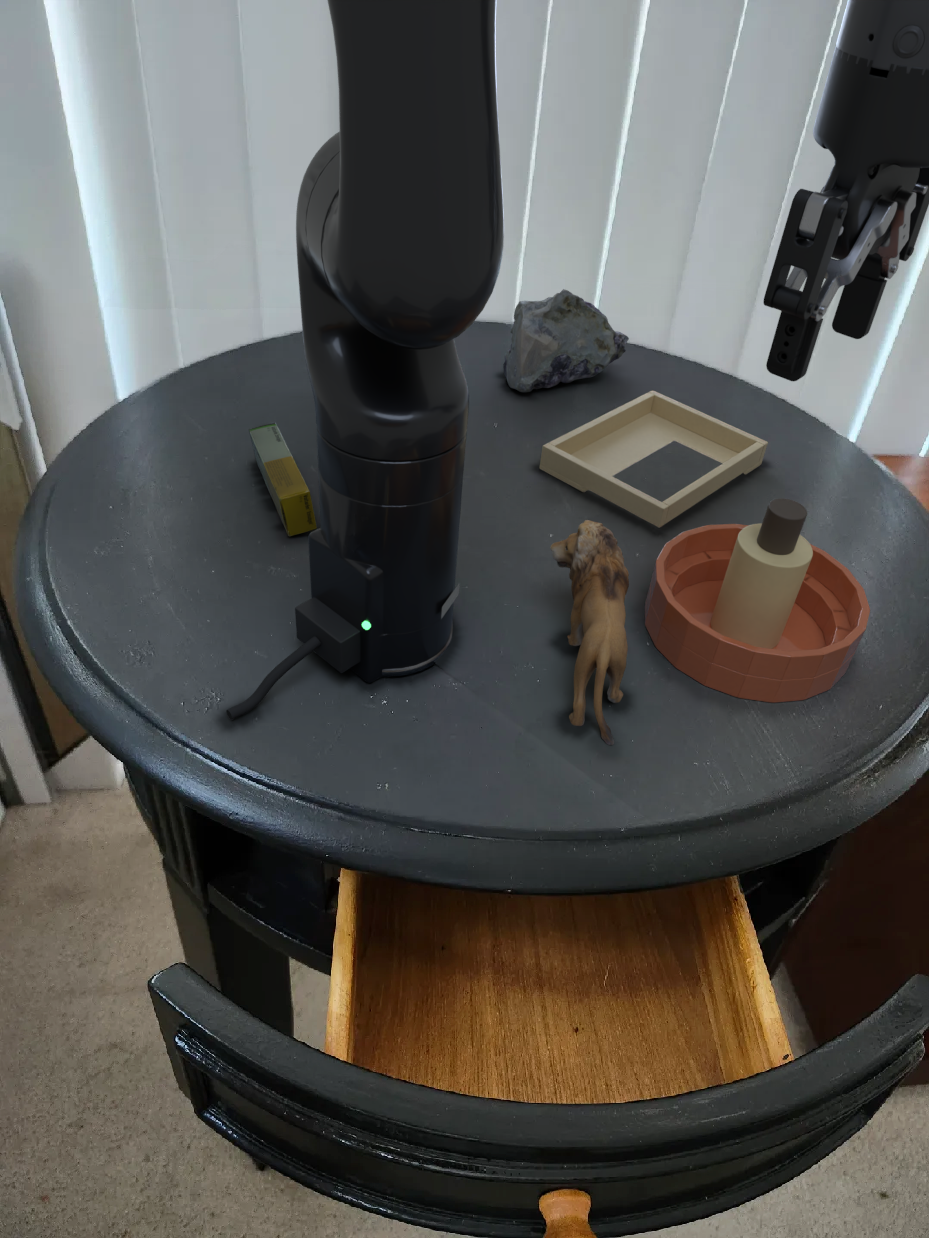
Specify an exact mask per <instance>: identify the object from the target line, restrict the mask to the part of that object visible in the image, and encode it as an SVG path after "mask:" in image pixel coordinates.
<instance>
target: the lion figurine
mask: <svg viewBox="0 0 929 1238" xmlns="http://www.w3.org/2000/svg"><path fill="white" fill-rule="evenodd" d="M549 548H550V551H551V554H552V558H553V560H555V561H556V565H557V566H558V568H568V569H569V573H568V578H569V579H570V580H571V587H570V588H571V596H572V600H573V604H572V608H571V613H570V634H568V635H567V639H568V644H569V645H570V646H573V647H578V646H579V649H578V652H577V657H576V660H575V663H574V671H573V672H574V673H573V703H572V708H573V711H572V712H571V713H570V714H569V715H568V719H569V721H570V723H571V725H573V726H576V727H582V726H584V724H585V713H586V709H587V708H586V707H587V701H586V689H587V686H588V683H589V681H590V679H591V677H592V675H593V673H594V672H595V677H594V687H593V688H594V689H593V711H594V716H595V719H596V722H597V725H598V728H599V730H600V737H601V739H602V740H603V741H604V743H605V744H606V745H608V746H613V745H614V744H615V738H614V736H613V733H612V730H611V728H610V726H609V725H608V724H607V722H606V719H605V717H604V713H603V691H604V684H605V680H606V676H607V677H608V682H609V686H608V689H607V692H606V694H607V700H608V701H609V702H611V703H613V704H617V703H620V702H621V700H622V698H623V697H624V693H623V692H622V690H621V689H620V686H621V683H622V679H623V678H624V674H625V671H626V667H627V657H628V649H629V647H628V646H629V645H628V640H627V639H628V638H627V631H626V628H625V625H626V617H627V616H626V615H627V613H626V607H625V600H626V595H627V593H628V591H629V587H630V580H629V575H630V573H629V570H628V568H627V567H626V566H625V559H624V556H623V551H622V548H621V547H620V546H619V545H618V539H617V538H616V537H615V536H614V533H613V532H612V530H611V529H609V528H607V527H606V526H604V524H603V523H602V522H598V521H593V520H588V519H585V520H584V521H583V522H582V523H580V524H579V525H578V527H577V532H573V533H570V534H569V535H568V537H567V538H565V539H563V540H560V541H555V542H553V543H552V544H551V545H550V547H549ZM606 674H607V675H606Z"/></svg>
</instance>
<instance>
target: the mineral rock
mask: <svg viewBox="0 0 929 1238" xmlns="http://www.w3.org/2000/svg"><path fill="white" fill-rule="evenodd" d="M510 334H512V335H511V343H510V346H509V349H508V350H506V352H505V355H504V362H503V368H502V369H503V375H504V377H505V378H506V381H507V384H508V386H509V387H510V388H511V389H514V390H517V391H518V392H520V393H530V392H532V391H533V390H538V389H539V390H540V389H542V388H545V389H549V388H553V387H555V386H557V385H559V384H560V383H563V384H569V383H572V382H573V381H576V380H581V379H588V378H589V379H590V378H592V377H595V376H596V375H599V374H600V373H602V372H603V370H605V368H607V367H608V366H609V365H610V364H612V363H613V362H615V361H616V360H619V359H620V358H621V357H622V356H623V354H624V353H626V351H627V350H626V347H625V346H626V345H627V344H628V342H629V339H630V338H629V336H628V335H627V334H625V333H623V332H621V331H618V330H617V331H616V330H614V329H613V328H612V325H611V324H610V323H609V319H608V317H607V316H606V315H605V314H604V313H602V311H600V309H599V308H598V307H596V305H594V304H593V303H591V302H589V301H586V300H585V299H584V298H583V297H580V296H578V295H576V294H574V293H572V292H571V291H569V290H568V289H566V288H565V289H564V288H563V289H562V290H561V291H559V292H556V293H555V294H554V295H553V296H548V297H546V298H545V299H542V300H520V301H518V303H517V304H516V306H515V308H514V312H513V324H512V326H511V328H510Z"/></svg>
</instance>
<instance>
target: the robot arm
mask: <svg viewBox="0 0 929 1238" xmlns="http://www.w3.org/2000/svg"><path fill="white" fill-rule="evenodd" d="M327 5H328V11H329V15H330V20H331V26H332V33H333V42H334V49H335V56H336V68H337V69H336V70H337V71H336V72H337V83H338V84H337V85H338V116H339V117H338V121H339V122H338V124H339V127H338V128H339V131H338V132H336V133H335V134H333V135H332V136H331V137H329V139H327V141H325V142H324V143H323V144H322V145H321V147H320V148H319V149H318V150H317V152H316V153H315V154H314V155H313V157H312V158H311V160H310V162H309V164H308V166H307V167H306V170H305V172H304V175H303V177H302V180H301V183H300V186H299V191H298V196H297V203H296V211H295V212H296V213H295V243H296V245H295V246H296V263H297V276H298V290H299V303H300V316H301V326H302V327H301V331H302V341H303V342H302V343H303V351H304V352H303V353H304V359H305V365H306V369H307V375H308V378H309V382H310V387H311V391H312V395H313V402H314V408H315V409H314V411H315V427H316V429H315V430H316V451H317V452H316V454H317V478H318V481H317V482H318V499H319V500H318V505H319V527H318V528H317V529H314V530H312V531H310V533H309V534H308V536H307V537H308V538H307V541H308V557H309V558H308V559H309V561H308V563H309V576H310V577H309V578H310V579H309V580H310V597H311V598H309V599H307V600H306V601H304V602H302V603H300V604H298V605H296V606H294V614H295V630H296V631H295V632H296V638H297V639H298V640H299V641H300V642H302V643H303V644H302V645H301V646H299V647H298V648H297V649H295V650H294V651H293V652H292V653H290V654H289V655H288V656H287V657H285V658H284V659H283V660H282V661H281V662H279V663H278V664H276V666H275V667H274V668H273V669H271V671H270V672H269V673H268V674H267V675H266V676H265V677H264V678H263V680H262V681H261V682H260V684H259V685H258V687H257V688H256V690H254V692H253V693H252V694H251V695H250V696H249V697H248V698H246V700H244V701H242V702H240V703H238V704H236V705H234V706H231V707H229V708H227V709H226V710H225V713H226V715H227V718H229V719H230V720H231V721H233V720H234V719H237V718H238V717H241V716H243V715H245V714H247V713H249V712H251V711H252V710H253V709H255V708H256V707H257V706H258V705H259V704H261V703H262V701H263V700H264V699H265V698H266V697H267V695H268V694H269V692H270V691H271V690H272V688H273V687H274V686H275V685H276V683H277V682H278V681H279V680H281V678H282V677H284V675H285V674H287V673H288V672H289V671H290V670H291V669H292V668H294V667H295V666H296V665H297V664H299V663H300V662H301V661H302V660H304V659H305V658H306V657H307V656H309V655H310V654H311V653H313V652H314V653H315V654H316V655H318V656H319V657H320V658H322V659H323V661H325V662H326V663H328V664H329V665H330V666H332V668H334V669H335V670H336V671H338V672H339V673H340V674H343V673H344V672H346V671H348V670H350V671H352V672H353V673H354V674H355V675H357V676H358V677H359V678H361V679H362V680H363V681H365V682H366V683H369V684H371V683H373V682H375V681H376V680H378V679H380V678H382V677H384V678H385V677H401V676H408V675H412V674H415V673H419V672H422V671H424V670H426V669H429V668H430V667H432V666H434V665H435V664H436V662H435V661H437V660H438V659H439V658H440V657H441V656H443V654H444V653H445V652H447V649H448V648H449V646H450V645H451V642H452V640H453V632H454V623H453V619H454V618H453V617H454V615H453V614H454V605H455V604H454V603H455V600H456V599H457V598H458V597H459V595H460V586H461V582H458V584H457V585H456V577H457V576H456V575H457V564H458V563H457V562H458V561H457V560H458V549H459V534H460V523H461V509H462V498H463V497H462V495H463V483H464V474H465V473H464V471H465V461H466V460H465V458H466V447H467V436H468V435H467V433H468V423H469V414H470V413H469V411H470V392H469V384H468V382H467V378H466V375H465V372H464V369H463V366H462V363H461V361H460V357H459V354H458V350H457V347H456V346H457V345H456V341H455V339H456V338H458V337H459V336H461V335H462V334H463V333H464V332H465V331H466V330H467V329H468V328H469V327H471V326H472V325H473V324H474V322H475V321H476V320H477V318H478V317H479V316H480V314H481V313H482V312H483V310H484V309H485V307H486V305H487V304H488V302H489V300H490V298H491V296H492V294H493V293H494V292H493V291H494V288H495V286H496V283H497V280H498V277H499V276H500V275H499V274H500V271H501V270H500V269H501V266H502V261H503V254H504V247H505V246H504V244H505V218H504V217H505V213H504V211H505V210H504V194H503V177H502V162H501V147H500V146H501V145H500V125H499V124H500V123H499V108H498V107H499V105H498V104H499V103H498V88H497V84H498V83H497V57H496V55H497V54H496V52H497V51H496V49H497V47H496V45H497V43H496V40H497V39H496V35H497V31H496V30H497V29H496V27H497V26H496V25H497V24H496V21H497V20H496V19H497V0H327ZM833 50H834V51H833V54H832V57H831V62H830V66H829V69H828V73H827V76H826V80H825V84H824V87H823V90H822V95H821V98H820V102H819V105H818V109H817V113H816V116H815V121H814V124H813V128H812V135H813V139H814V141H815V142H816V143H817V145H818V146H819V147H821V148H822V149H824V150H829V152H830V153H831V155H832V157H833V159H834V165H833V167H832V168H831V170H830V172H829V176H828V178H827V180H826V182H825V184H824V185H823V187H822V188H821V189H820V192H819V191H812V190H810V189H809V190H808V189H804V188H799V190H797V191H796V193H795V194H794V196H793V199H792V201H791V204H790V207H789V211H788V215H787V218H786V221H785V225H784V228H783V232H782V234H781V238H780V242H779V245H778V249H777V252H776V254H775V255H776V256H775V259H774V262H773V265H772V269H771V273H770V276H769V280H768V283H767V286H766V290H765V293H764V297H763V305H764V306H765V307H768V308H770V309H775V310H778V311H780V314H779V316H778V317H779V318H778V321H777V325H776V329H775V332H774V334H773V339H772V342H771V346H770V350H769V353H768V357H767V360H766V364H765V365H766V370H767V371H768V373H770V374H772V375H775V376H776V377H780V378H782V379H784V380H786V381H789V382H797V381H799V380H801V379H803V377H805V375H806V374H807V372H808V369H809V365H810V362H811V359H812V356H813V353H814V350H815V346H816V344H817V339H818V337H819V333H820V330H821V327H822V324H823V320H824V318H823V317H824V316H825V314H826V313H827V311H828V308H829V307H830V305H831V303H832V302H833V300H834V298H835V296H836V294H837V292H838V291H839V289H840V288H841V287H842V288H843V289H842V291H841V294H840V298H839V301H838V304H837V307H836V310H835V313H834V316H833V319H832V322H831V327H832V330H833V332H836V334H840V335H843V336H846V337H849V338H851V339H855V340H861V339H863V338H865V336H867V335H868V334H869V333H870V330H871V328H872V325H873V322H874V320H875V317H876V314H877V311H878V308H879V305H880V302H881V299H882V297H883V293H884V291H885V288H886V285H887V284H888V283H887V282H888V280H891V279H892V278H893V277H894V275H895V274H896V273H897V271H898V269H899V263H900V261H902V262H907V261H908V260H909V258H910V257H911V256H912V255H913V253H914V251H915V246H916V243H917V241H918V237H919V234H920V231H921V229H922V225H923V224H924V219H925V218H926V214H927V211H928V208H929V0H847V3H846V6H845V10H844V13H843V17H842V21H841V25H840V28H839V33H838V35H837V39H836V43H835V47H834V49H833ZM791 267H793V268H792V270H791ZM790 271H791V272H790ZM803 284H804V285H803ZM802 286H803V288H802ZM801 288H802V290H801Z"/></svg>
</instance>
